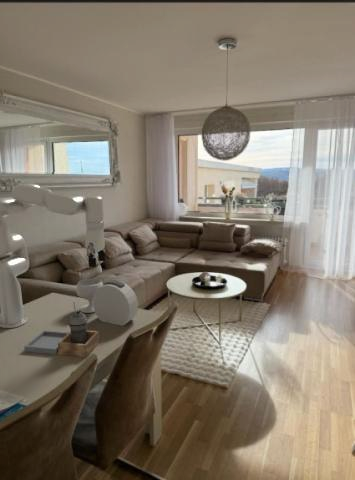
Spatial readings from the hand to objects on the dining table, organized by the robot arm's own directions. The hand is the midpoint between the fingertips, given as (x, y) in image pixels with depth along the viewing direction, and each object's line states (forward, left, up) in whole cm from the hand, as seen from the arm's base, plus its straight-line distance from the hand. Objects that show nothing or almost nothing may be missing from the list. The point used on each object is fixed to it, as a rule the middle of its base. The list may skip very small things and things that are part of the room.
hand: (97, 263), depth 146 cm
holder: (-2, -17, -31) cm, 36 cm away
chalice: (-15, +22, -32) cm, 41 cm away
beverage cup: (-2, -17, -31) cm, 36 cm away
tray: (-16, -16, -31) cm, 38 cm away
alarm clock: (+3, +11, -32) cm, 34 cm away
